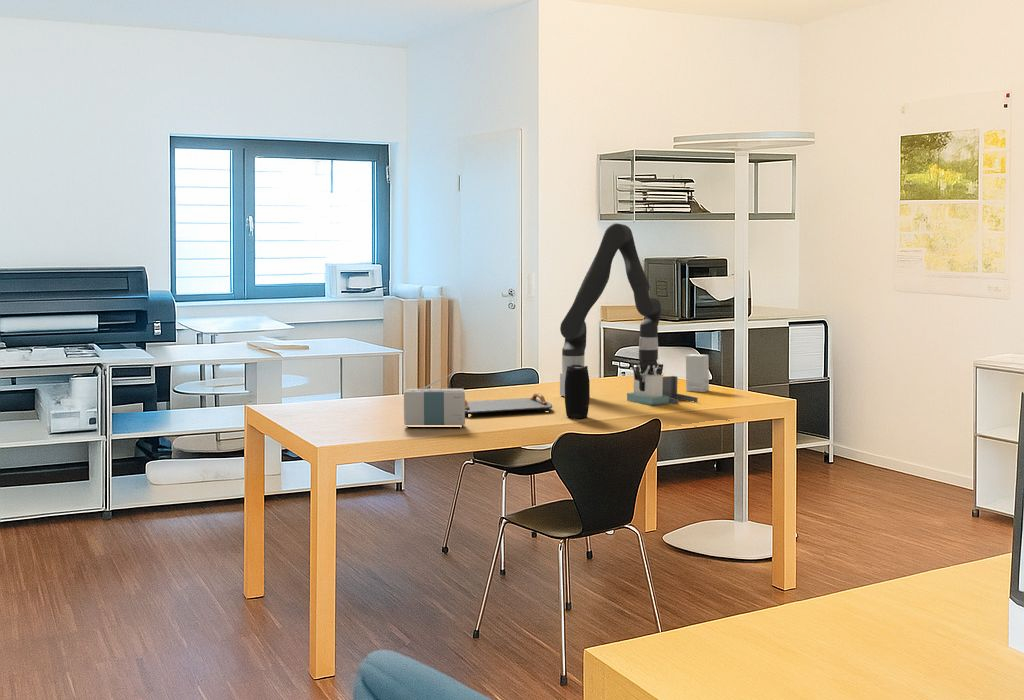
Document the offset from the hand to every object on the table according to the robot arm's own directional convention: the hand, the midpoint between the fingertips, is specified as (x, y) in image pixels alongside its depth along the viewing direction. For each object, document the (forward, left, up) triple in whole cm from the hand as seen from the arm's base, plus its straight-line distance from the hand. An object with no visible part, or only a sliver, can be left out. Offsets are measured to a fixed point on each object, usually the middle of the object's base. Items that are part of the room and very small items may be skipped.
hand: (647, 390), depth 412 cm
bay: (+11, -4, -5) cm, 13 cm away
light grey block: (0, 0, -3) cm, 3 cm away
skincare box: (+37, +13, -5) cm, 40 cm away
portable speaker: (-44, -14, -5) cm, 46 cm away
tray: (0, 0, -5) cm, 5 cm away
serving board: (-60, +13, -5) cm, 62 cm away
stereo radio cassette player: (-97, -4, -5) cm, 97 cm away
